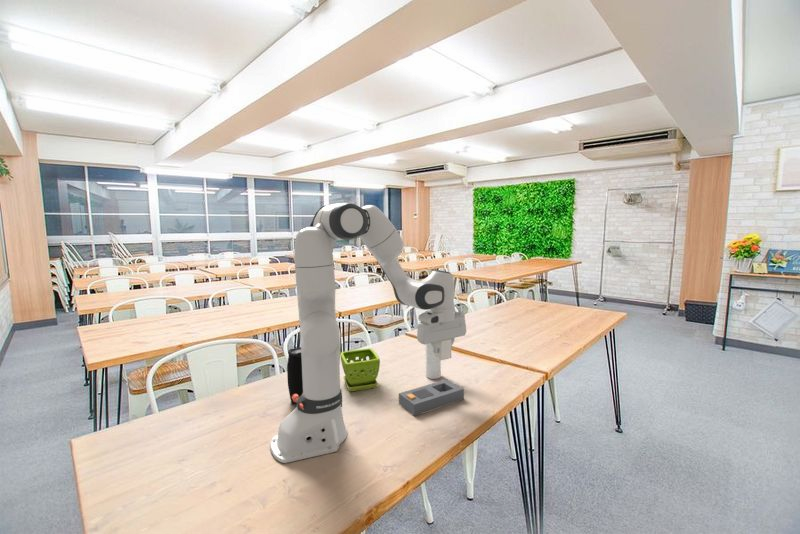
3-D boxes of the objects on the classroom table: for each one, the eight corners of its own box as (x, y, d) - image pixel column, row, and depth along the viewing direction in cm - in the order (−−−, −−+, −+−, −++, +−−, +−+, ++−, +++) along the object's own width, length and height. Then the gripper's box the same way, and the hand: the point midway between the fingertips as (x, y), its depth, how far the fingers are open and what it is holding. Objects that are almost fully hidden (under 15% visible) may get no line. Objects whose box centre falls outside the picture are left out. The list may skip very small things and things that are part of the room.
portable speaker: (284, 403, 132) (281, 351, 130) (301, 393, 140) (299, 344, 138) (302, 408, 128) (299, 355, 126) (319, 397, 137) (316, 347, 134)
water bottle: (431, 380, 150) (431, 321, 147) (422, 375, 155) (422, 318, 153) (448, 375, 155) (447, 318, 152) (438, 370, 160) (438, 315, 157)
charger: (441, 360, 130) (441, 341, 129) (434, 356, 134) (434, 338, 133) (451, 357, 132) (451, 339, 131) (443, 354, 136) (443, 336, 135)
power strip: (414, 415, 122) (414, 403, 121) (398, 403, 130) (398, 391, 130) (463, 399, 133) (464, 387, 133) (446, 389, 142) (446, 377, 141)
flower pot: (340, 380, 151) (339, 351, 150) (373, 376, 155) (372, 347, 154) (346, 395, 138) (345, 363, 137) (381, 389, 142) (380, 358, 141)
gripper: (458, 308, 139) (458, 343, 141) (414, 316, 129) (415, 354, 130) (470, 312, 134) (470, 348, 135) (424, 320, 123) (425, 359, 125)
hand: (442, 351), depth 133 cm, fingers closed on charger, 4 cm apart
